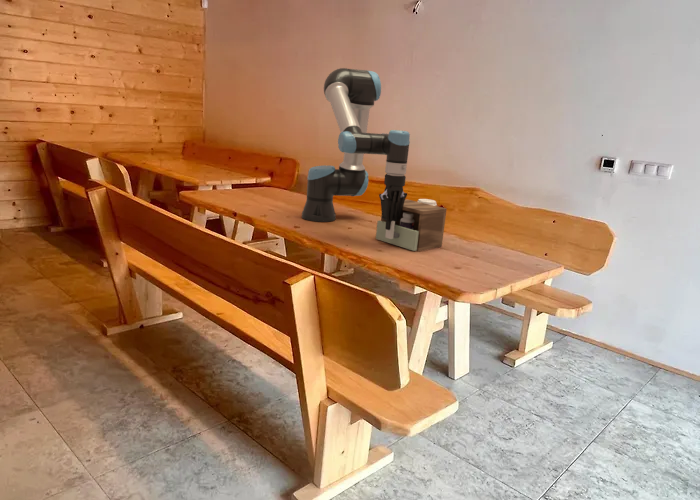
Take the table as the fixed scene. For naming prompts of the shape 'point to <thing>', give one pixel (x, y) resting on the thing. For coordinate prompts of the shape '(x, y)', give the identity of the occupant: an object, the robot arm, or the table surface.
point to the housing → (426, 223)
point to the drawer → (398, 236)
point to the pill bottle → (407, 220)
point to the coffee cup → (427, 201)
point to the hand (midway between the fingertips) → (389, 237)
